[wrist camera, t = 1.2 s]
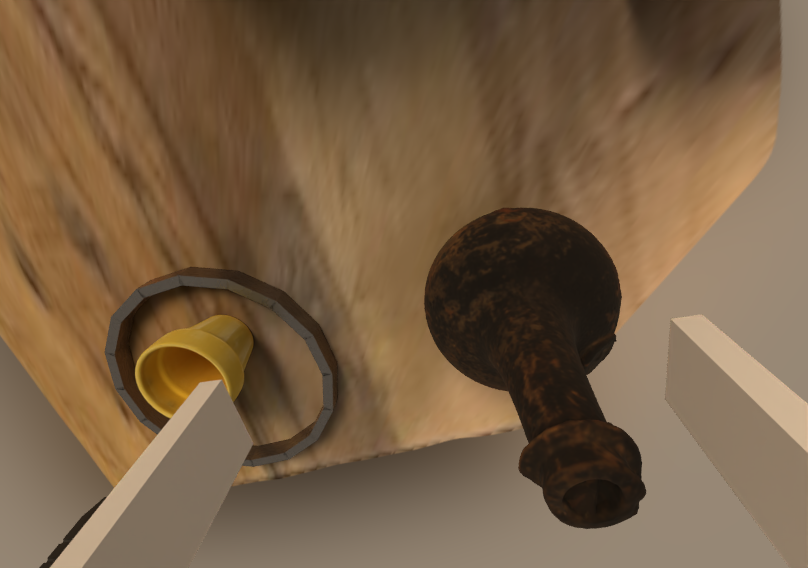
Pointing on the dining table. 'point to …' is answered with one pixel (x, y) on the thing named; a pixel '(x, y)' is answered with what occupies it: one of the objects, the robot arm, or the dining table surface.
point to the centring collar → (248, 288)
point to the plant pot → (194, 362)
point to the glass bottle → (541, 350)
